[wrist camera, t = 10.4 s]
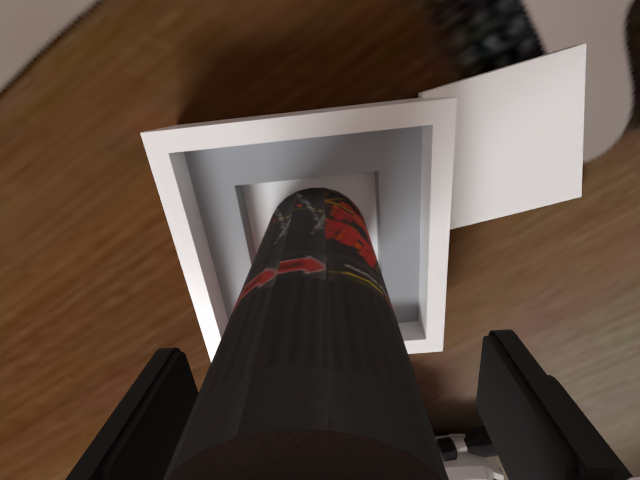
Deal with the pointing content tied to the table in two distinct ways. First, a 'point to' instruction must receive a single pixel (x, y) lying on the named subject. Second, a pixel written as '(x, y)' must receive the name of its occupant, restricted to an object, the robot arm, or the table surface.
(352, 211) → the deodorant
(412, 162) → the housing
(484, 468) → the robot toy
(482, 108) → the lid
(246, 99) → the table surface
